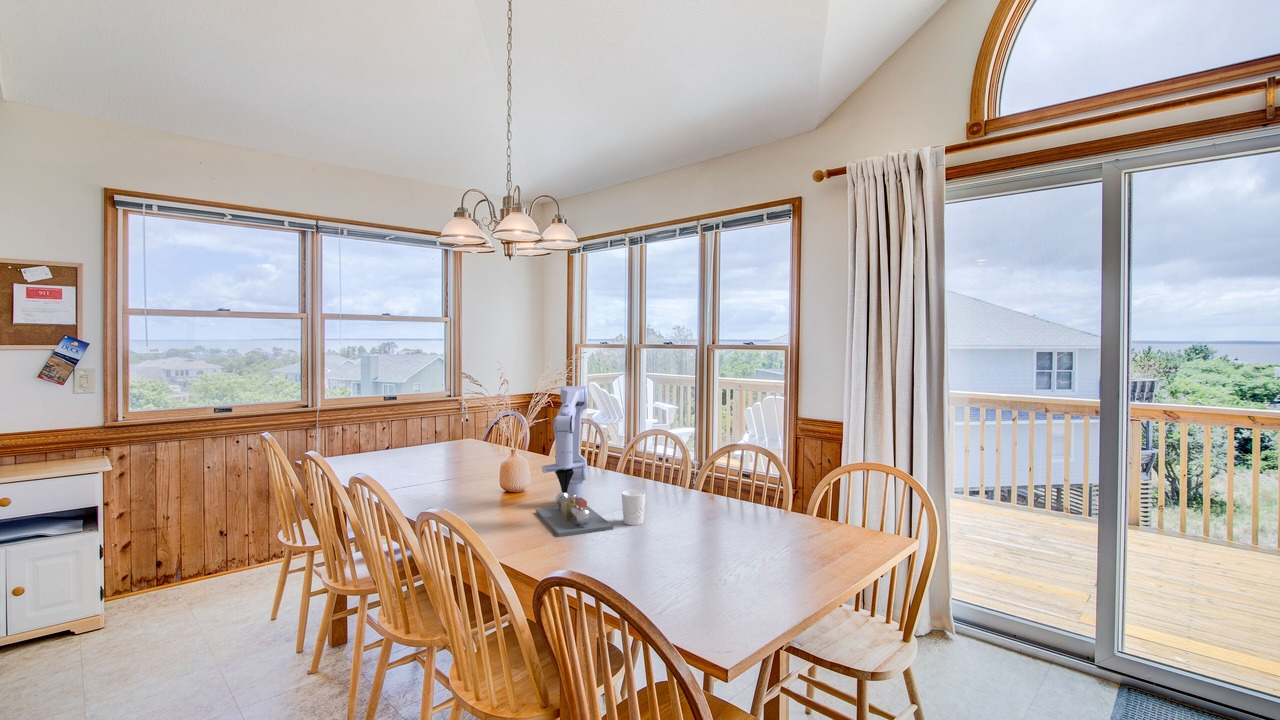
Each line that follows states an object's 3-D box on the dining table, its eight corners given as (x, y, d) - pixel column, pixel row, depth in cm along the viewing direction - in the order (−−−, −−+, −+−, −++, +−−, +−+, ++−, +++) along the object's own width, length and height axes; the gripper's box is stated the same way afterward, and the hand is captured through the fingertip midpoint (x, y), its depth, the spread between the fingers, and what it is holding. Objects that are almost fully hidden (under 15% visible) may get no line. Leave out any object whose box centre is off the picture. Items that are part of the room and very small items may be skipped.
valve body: (553, 508, 204) (553, 492, 204) (570, 506, 207) (570, 490, 207) (574, 529, 182) (574, 510, 182) (594, 526, 185) (594, 507, 184)
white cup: (645, 526, 189) (645, 495, 189) (621, 526, 189) (621, 495, 189) (645, 519, 197) (645, 489, 196) (622, 518, 197) (622, 489, 197)
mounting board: (536, 512, 204) (536, 509, 204) (584, 506, 211) (584, 503, 211) (558, 537, 178) (558, 533, 178) (612, 529, 186) (612, 525, 185)
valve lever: (567, 498, 195) (567, 493, 195) (575, 497, 196) (575, 492, 196) (579, 507, 184) (579, 502, 184) (587, 506, 185) (587, 501, 185)
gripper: (546, 455, 186) (546, 497, 186) (588, 451, 192) (588, 492, 192) (540, 451, 192) (540, 492, 193) (581, 448, 198) (582, 487, 199)
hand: (564, 491), depth 193 cm, fingers closed
